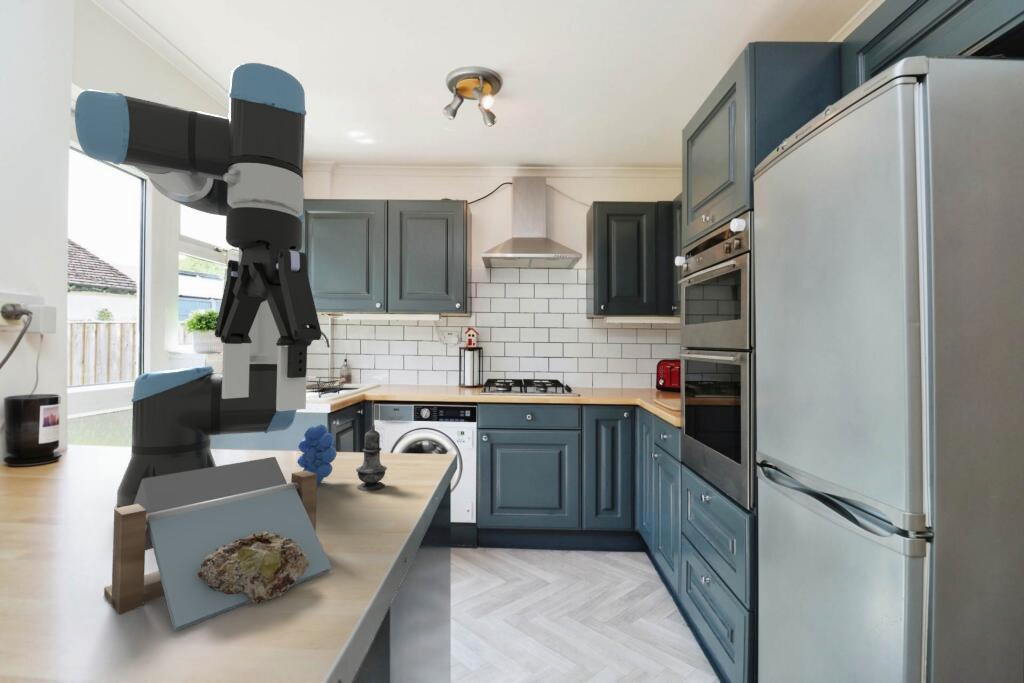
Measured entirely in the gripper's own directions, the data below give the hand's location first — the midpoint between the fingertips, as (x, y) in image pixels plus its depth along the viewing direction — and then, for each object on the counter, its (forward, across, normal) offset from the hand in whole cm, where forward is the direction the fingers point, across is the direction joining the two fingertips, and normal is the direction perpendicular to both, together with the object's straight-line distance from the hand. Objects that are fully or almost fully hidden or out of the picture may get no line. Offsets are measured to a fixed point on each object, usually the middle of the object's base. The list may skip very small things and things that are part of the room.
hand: (260, 403), depth 53 cm
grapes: (+22, -34, +27) cm, 49 cm away
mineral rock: (+18, 0, 0) cm, 19 cm away
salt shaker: (+22, -24, +32) cm, 46 cm away
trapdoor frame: (+21, -9, 0) cm, 23 cm away
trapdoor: (+20, -9, 0) cm, 22 cm away
